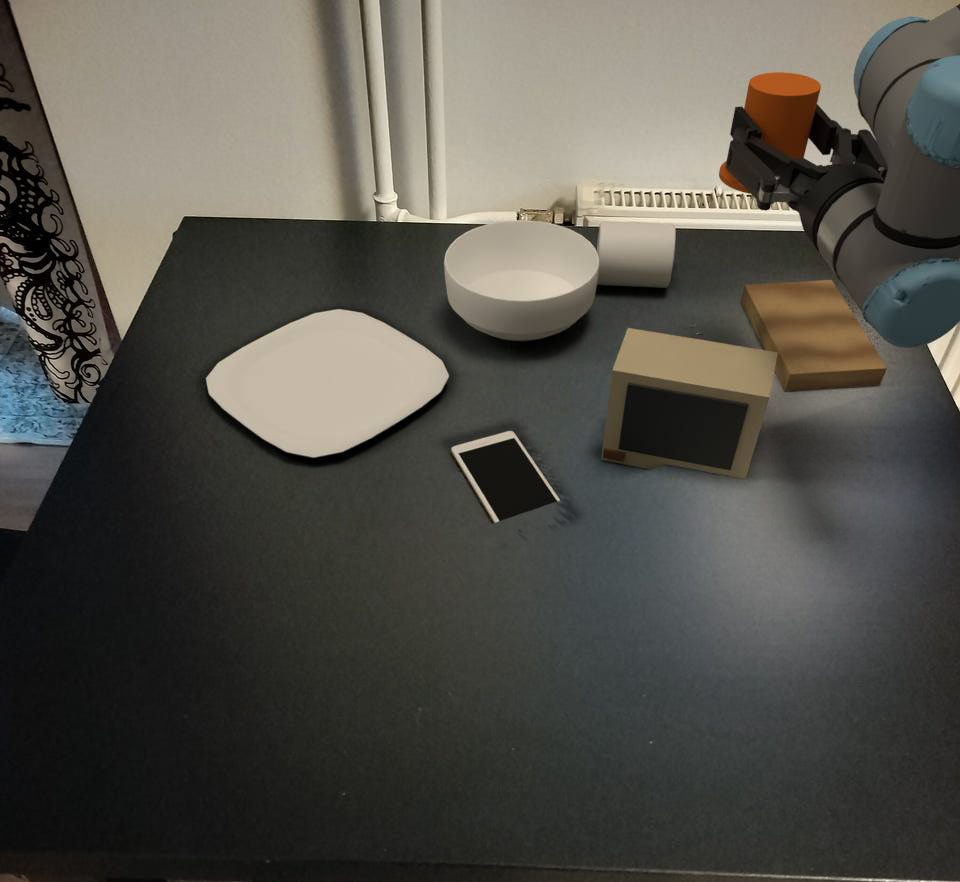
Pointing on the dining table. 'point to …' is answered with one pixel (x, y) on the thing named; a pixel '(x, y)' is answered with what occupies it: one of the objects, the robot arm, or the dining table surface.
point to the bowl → (521, 278)
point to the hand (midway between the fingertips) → (771, 117)
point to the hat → (779, 114)
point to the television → (686, 403)
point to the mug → (635, 254)
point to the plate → (326, 382)
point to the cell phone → (504, 475)
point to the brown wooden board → (812, 335)
